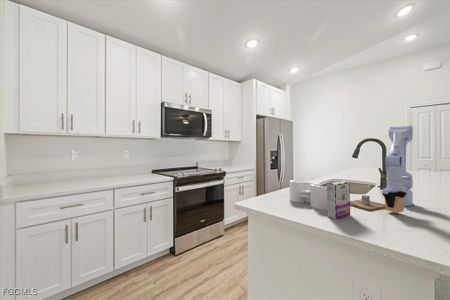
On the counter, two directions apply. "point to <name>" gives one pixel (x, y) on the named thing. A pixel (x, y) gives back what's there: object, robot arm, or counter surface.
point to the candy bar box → (338, 199)
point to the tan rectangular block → (396, 205)
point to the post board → (366, 204)
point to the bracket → (308, 193)
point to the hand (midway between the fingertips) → (394, 206)
